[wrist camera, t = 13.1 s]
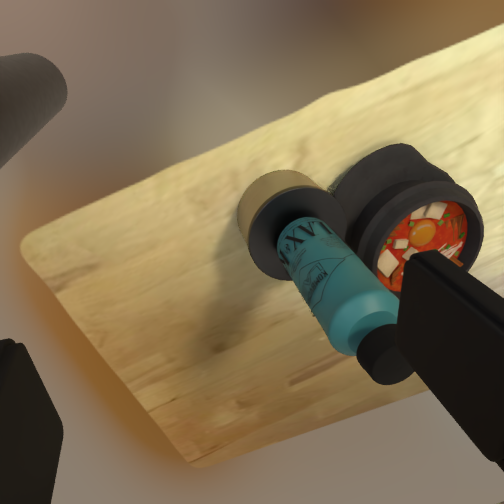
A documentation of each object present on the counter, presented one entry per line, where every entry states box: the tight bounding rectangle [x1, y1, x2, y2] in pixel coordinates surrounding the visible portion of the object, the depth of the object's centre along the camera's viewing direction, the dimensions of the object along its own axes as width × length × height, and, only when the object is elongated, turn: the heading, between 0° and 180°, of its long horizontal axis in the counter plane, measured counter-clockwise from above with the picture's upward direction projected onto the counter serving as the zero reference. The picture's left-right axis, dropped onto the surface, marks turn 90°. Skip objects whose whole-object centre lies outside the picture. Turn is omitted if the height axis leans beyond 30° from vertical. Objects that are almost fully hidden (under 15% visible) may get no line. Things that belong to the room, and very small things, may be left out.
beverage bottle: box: [277, 217, 414, 385], centre depth 35 cm, size 6×7×20 cm
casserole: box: [334, 143, 484, 301], centre depth 51 cm, size 25×19×8 cm
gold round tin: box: [237, 170, 347, 281], centre depth 47 cm, size 11×11×7 cm
